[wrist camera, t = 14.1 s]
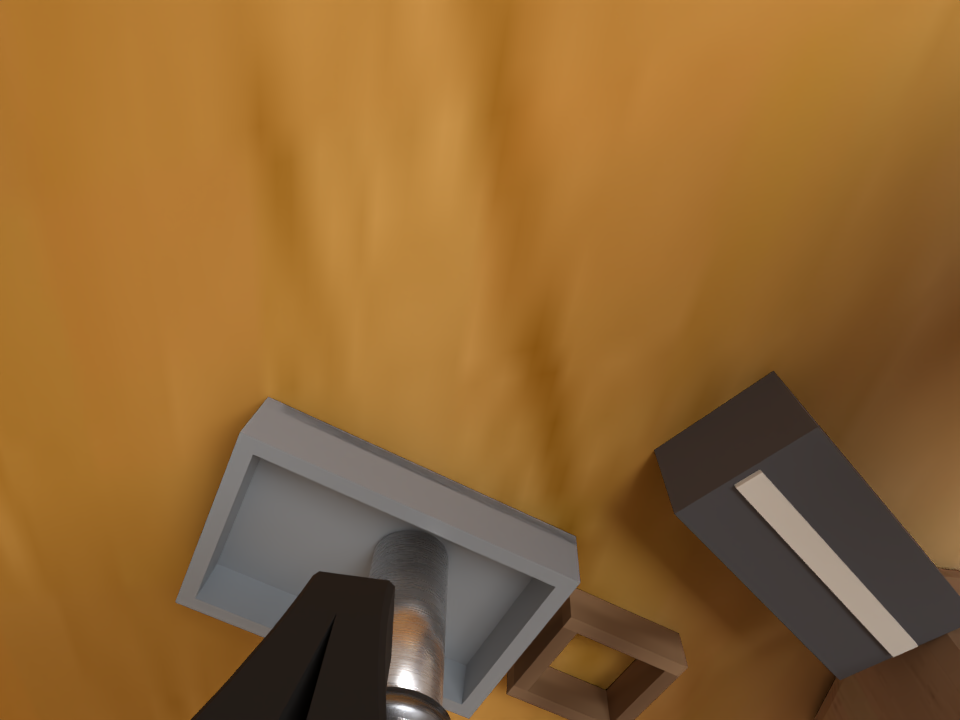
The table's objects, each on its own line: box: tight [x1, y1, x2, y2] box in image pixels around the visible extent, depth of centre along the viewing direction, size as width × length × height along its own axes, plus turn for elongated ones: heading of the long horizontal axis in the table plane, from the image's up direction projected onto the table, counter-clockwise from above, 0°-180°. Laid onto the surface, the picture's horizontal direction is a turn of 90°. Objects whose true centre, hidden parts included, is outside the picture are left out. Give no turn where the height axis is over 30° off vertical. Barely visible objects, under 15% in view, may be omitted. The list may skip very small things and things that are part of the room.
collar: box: [507, 588, 688, 720], centre depth 24 cm, size 5×5×2 cm
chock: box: [654, 371, 960, 680], centre depth 19 cm, size 9×4×4 cm, turn 43°
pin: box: [369, 530, 451, 720], centre depth 19 cm, size 3×3×7 cm
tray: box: [176, 397, 580, 718], centre depth 22 cm, size 12×8×2 cm
